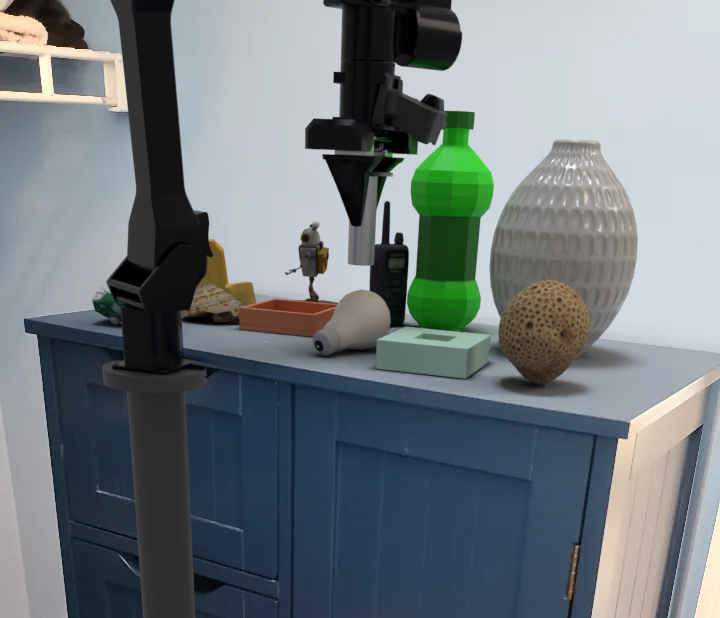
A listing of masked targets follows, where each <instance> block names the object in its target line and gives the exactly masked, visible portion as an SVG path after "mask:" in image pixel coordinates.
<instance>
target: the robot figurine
mask: <svg viewBox="0 0 720 618" xmlns="http://www.w3.org/2000/svg"><path fill="white" fill-rule="evenodd" d="M320 224H321V223H320V221H319V220H318V219H315V220H313V221H312V224H310V225H309V226H308V227H307V228H305V229H304V230H303V231H302V232H301V235H300V241H301V243H300V244H299V245H298V248H297V249H298V258H299V262H300V264H299V266H298V267H297V268H291V269H288V271H285V272H284V275H286V276H289V275H291V274H293V273H294V274H295V273H296V272H297V270H300V269H301V273H302V277H307V278H308V280H309V284H308V293H309V298H307V299H305V300H302V299H298V300H296V301H307V302H317V303H328V304H338V303H339V302H336V301H331V300H324V299H320V296H319V295H318V293H317V292H316V291H315V290H314V286H313V284H314V281H315V278H317V277H318V276H319V275H324V274H325V273H326V271H327V270H328V261H329V257H330V252H329V251H330V248H329V247H325V246H324V241H323V240H321V236H320V233H319V231H318V228H319V227H321V225H320Z"/></svg>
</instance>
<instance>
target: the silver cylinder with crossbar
mask: <svg viewBox="0 0 720 618" xmlns="http://www.w3.org/2000/svg"><path fill="white" fill-rule="evenodd" d="M378 176H387V178H388V177H389V178H391V177H394V172H392V171H390V172H371V173H370V176H369V184H368V190H367V197H366V204H365V210H364V216H363V221H362V225H361V226H360V227H355V226H352V225H351V223H350V221H349V220H348V243H347V244H348V245H347V264H348V265H352V266H363V267H364V266H368V267H370V265H374V255H375V245H376V230H377V210H376V208H377V209H378V207H377V185H378Z"/></svg>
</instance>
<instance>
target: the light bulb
mask: <svg viewBox="0 0 720 618" xmlns="http://www.w3.org/2000/svg"><path fill="white" fill-rule="evenodd" d="M337 303H338V304H337V306H336V308H335V311H334V313H333V316H332V318H331V320H330V321H329V322H328V323H327V324H326V325H325V326H324V328H323V329H321V330H320V331H318V332H316V333H315V334H314V336H313V337H312V345H313V347H314V350H316V352H317V353H318V354H319V355H321V356H324V357H328V356H330V355H331V354H333V353H335V352H340V351H342V350H345V349H348V350H357V351H365V350H368V349H372V348H375V347H377V339H379V338H382V337H384V336H386V335H389V331H390V327H391V325H390V322H391V320H390V311H389V309H388V307H387V305H386V302H385V301H384V300H383V299H382V298H381V297H380V296H379V295H377V294H376V293H374V292H371V291H370V290H367V289H358V290H353V291H351V292H349V293H346V294H345V295H344V296H343V297H342V298H341V299H340V300H339V302H337Z"/></svg>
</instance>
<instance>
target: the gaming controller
mask: <svg viewBox="0 0 720 618" xmlns="http://www.w3.org/2000/svg"><path fill="white" fill-rule="evenodd" d="M91 302H92V305H93V309H94V311H95V312H96V313H98V314H99V315H101V316H102V317H105V318H107V319H109V321H110V323H111V324H114V325H118V324H120V323H122V322H121V309H120V308H121V307H122V305H123V304H125V303H122V302H116V301H114V300H113V298H112V296H111V293H110V292H109V291H107V289H106V287H105V285H100V286H99V287H98V289H97V290H96V291H95V293H94V295H93V296H92V300H91Z"/></svg>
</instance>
